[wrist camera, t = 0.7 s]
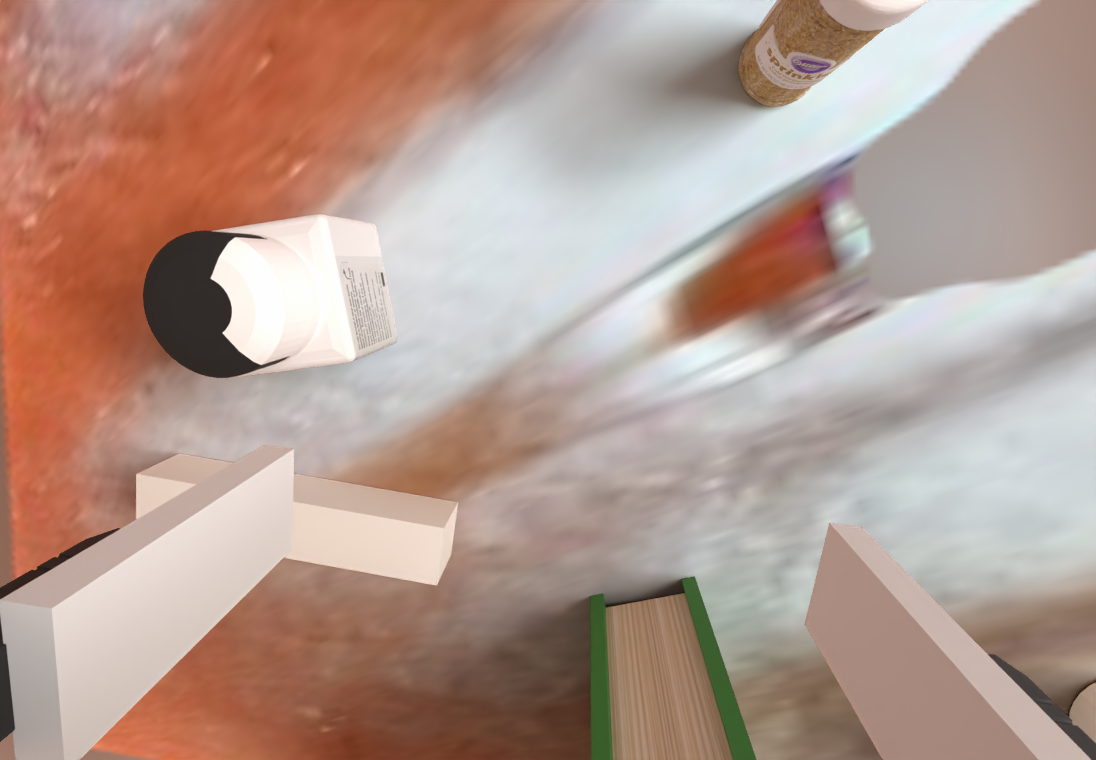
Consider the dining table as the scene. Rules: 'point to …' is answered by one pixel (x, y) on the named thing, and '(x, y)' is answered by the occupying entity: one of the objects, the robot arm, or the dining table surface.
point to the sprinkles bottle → (811, 43)
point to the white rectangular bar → (335, 520)
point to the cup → (1085, 711)
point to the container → (270, 296)
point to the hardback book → (661, 683)
